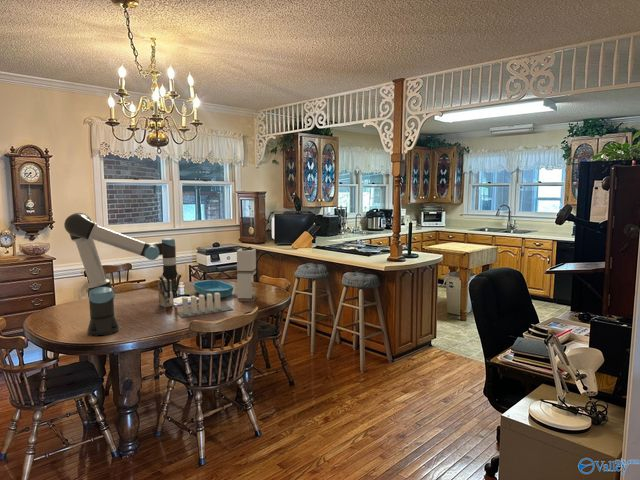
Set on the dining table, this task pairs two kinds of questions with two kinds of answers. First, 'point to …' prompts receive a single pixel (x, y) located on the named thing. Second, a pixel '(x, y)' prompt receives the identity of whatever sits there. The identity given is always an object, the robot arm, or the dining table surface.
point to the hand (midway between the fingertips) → (171, 302)
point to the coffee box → (164, 295)
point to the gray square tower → (246, 274)
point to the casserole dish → (213, 288)
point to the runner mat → (223, 308)
